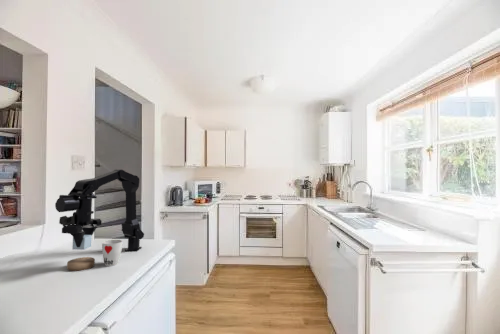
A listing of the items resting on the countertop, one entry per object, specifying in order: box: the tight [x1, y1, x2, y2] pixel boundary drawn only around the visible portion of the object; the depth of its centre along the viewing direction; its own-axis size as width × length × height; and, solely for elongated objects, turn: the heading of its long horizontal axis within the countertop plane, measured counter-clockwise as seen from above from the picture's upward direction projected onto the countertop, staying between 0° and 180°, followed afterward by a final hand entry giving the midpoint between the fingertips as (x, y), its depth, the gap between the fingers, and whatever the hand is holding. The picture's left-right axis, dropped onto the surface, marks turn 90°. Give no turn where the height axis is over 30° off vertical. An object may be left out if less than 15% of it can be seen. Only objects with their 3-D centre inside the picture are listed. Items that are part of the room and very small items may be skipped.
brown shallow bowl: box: [66, 256, 96, 272], centre depth 113 cm, size 10×10×2 cm
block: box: [71, 235, 93, 251], centre depth 114 cm, size 5×5×5 cm
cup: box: [101, 239, 123, 267], centre depth 118 cm, size 8×8×10 cm
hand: (82, 245), depth 114 cm, fingers closed on block, 5 cm apart
